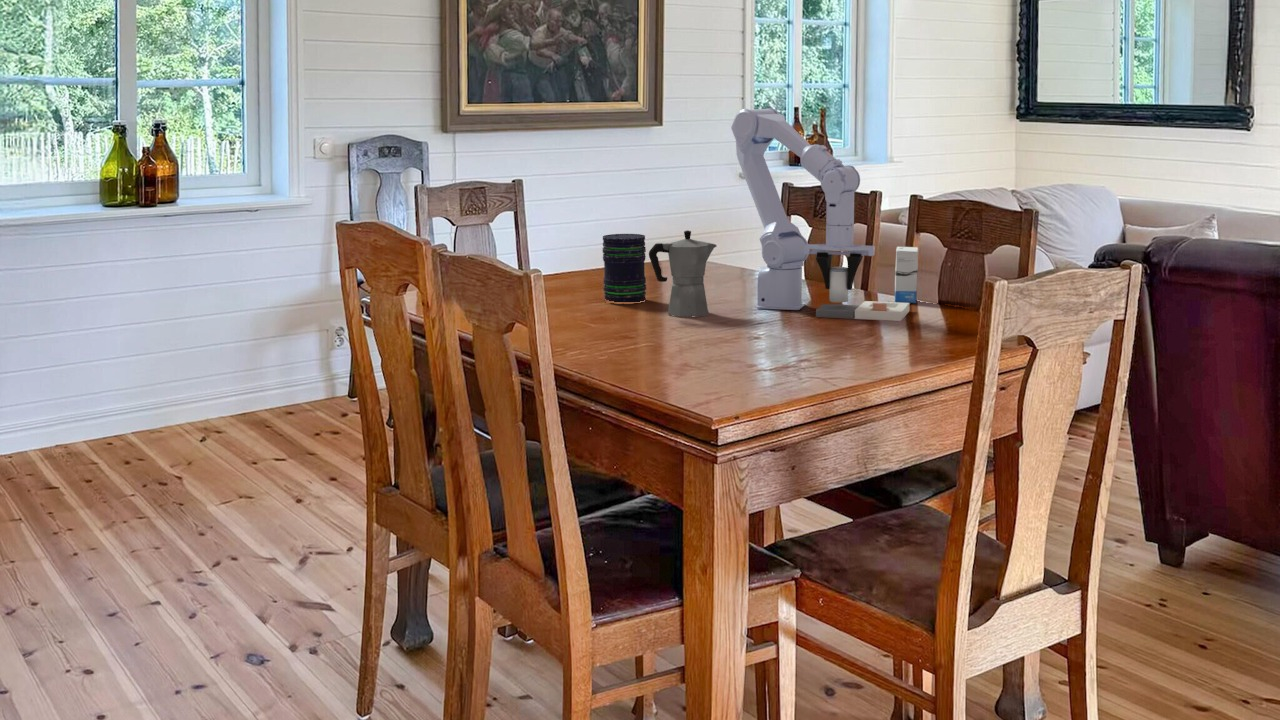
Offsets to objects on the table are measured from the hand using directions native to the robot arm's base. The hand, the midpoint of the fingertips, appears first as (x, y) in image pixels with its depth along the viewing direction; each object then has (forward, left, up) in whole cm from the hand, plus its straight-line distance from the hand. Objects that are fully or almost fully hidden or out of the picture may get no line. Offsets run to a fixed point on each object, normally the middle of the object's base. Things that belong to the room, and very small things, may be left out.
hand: (838, 288), depth 270 cm
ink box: (+11, +22, -6) cm, 25 cm away
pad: (0, 0, -6) cm, 6 cm away
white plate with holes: (+9, +2, -6) cm, 11 cm away
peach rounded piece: (+9, -2, -6) cm, 11 cm away
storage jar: (-50, +5, -6) cm, 51 cm away
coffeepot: (-32, -8, -6) cm, 33 cm away
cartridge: (0, 0, -3) cm, 3 cm away
